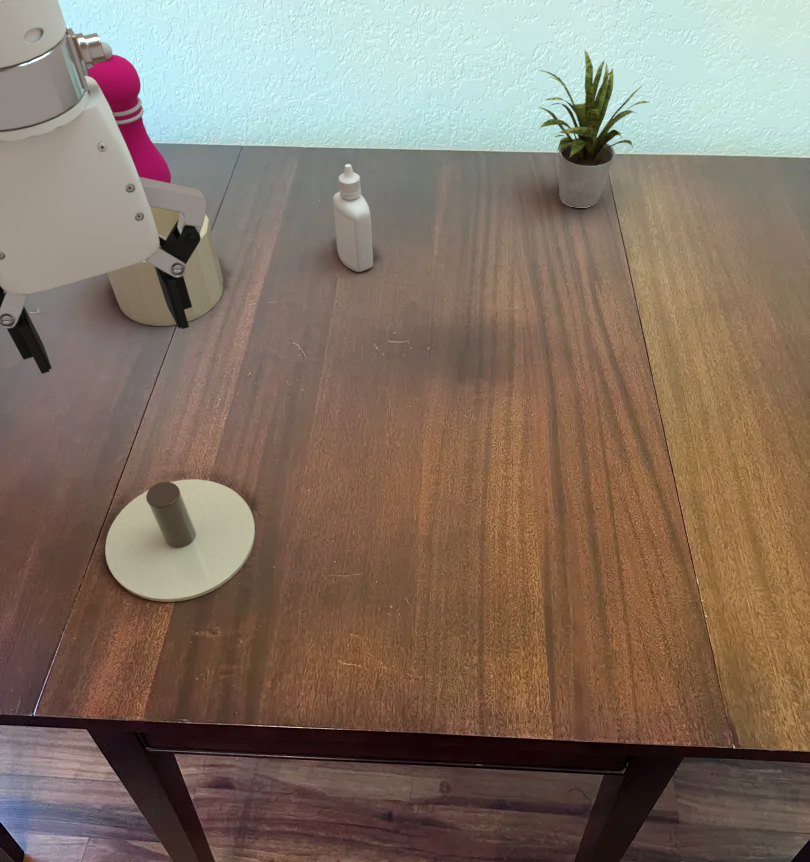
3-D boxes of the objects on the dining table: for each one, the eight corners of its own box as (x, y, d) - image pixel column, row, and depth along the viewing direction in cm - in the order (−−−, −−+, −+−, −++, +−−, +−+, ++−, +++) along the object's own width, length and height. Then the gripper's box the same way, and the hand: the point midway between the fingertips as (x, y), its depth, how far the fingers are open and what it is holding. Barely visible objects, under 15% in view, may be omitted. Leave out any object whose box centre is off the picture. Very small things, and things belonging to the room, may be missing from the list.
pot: (109, 328, 89) (83, 263, 82) (127, 262, 96) (105, 198, 90) (218, 324, 89) (201, 259, 83) (227, 259, 97) (213, 194, 90)
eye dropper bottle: (337, 274, 94) (328, 180, 85) (337, 247, 98) (328, 153, 88) (373, 273, 95) (368, 178, 85) (372, 245, 98) (367, 151, 88)
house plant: (507, 171, 108) (520, 40, 94) (604, 160, 109) (629, 29, 96) (536, 230, 99) (554, 96, 86) (640, 217, 101) (673, 83, 87)
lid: (96, 609, 68) (66, 563, 62) (122, 489, 75) (97, 438, 70) (251, 602, 68) (235, 556, 62) (261, 483, 75) (248, 432, 70)
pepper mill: (153, 230, 100) (101, 62, 84) (112, 214, 103) (54, 48, 86) (190, 203, 104) (147, 37, 88) (149, 188, 106) (101, 23, 90)
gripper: (148, 18, 45) (212, 274, 59) (-176, 87, 41) (-24, 345, 54) (187, 70, 41) (247, 331, 55) (-167, 153, 37) (-5, 413, 51)
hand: (112, 338), depth 55 cm, fingers open, 9 cm apart
